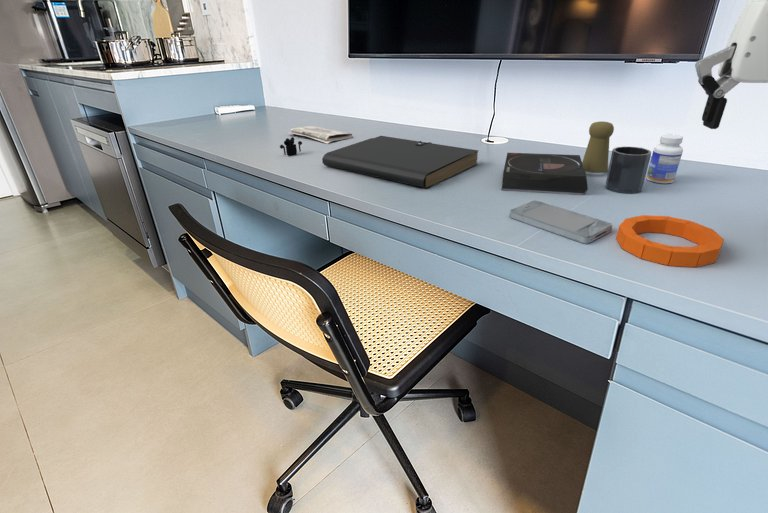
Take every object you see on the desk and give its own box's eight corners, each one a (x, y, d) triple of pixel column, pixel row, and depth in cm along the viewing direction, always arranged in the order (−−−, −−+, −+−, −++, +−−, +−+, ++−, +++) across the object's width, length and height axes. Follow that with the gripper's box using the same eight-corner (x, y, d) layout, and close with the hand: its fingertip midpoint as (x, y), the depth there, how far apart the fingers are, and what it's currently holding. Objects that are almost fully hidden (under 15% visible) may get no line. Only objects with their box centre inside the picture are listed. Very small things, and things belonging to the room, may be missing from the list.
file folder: (479, 148, 110) (423, 174, 95) (478, 164, 112) (423, 192, 97) (381, 134, 130) (321, 153, 114) (382, 147, 132) (323, 168, 116)
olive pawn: (594, 173, 102) (603, 125, 97) (575, 167, 107) (582, 121, 102) (613, 169, 104) (623, 122, 99) (593, 163, 109) (601, 118, 104)
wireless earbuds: (282, 157, 127) (279, 140, 124) (278, 156, 129) (276, 138, 126) (304, 153, 130) (301, 136, 128) (300, 151, 132) (298, 135, 130)
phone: (586, 245, 70) (588, 237, 70) (506, 216, 82) (507, 210, 81) (613, 230, 74) (614, 224, 74) (533, 205, 86) (534, 199, 85)
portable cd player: (586, 195, 90) (590, 176, 88) (501, 190, 95) (503, 172, 93) (579, 171, 104) (582, 155, 102) (505, 168, 109) (507, 152, 107)
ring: (695, 230, 73) (699, 217, 72) (735, 269, 62) (741, 254, 61) (608, 226, 76) (611, 213, 75) (631, 263, 64) (634, 249, 63)
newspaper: (286, 135, 154) (286, 127, 153) (315, 132, 162) (314, 125, 161) (324, 144, 139) (323, 136, 138) (353, 140, 146) (353, 133, 145)
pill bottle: (645, 175, 100) (656, 132, 95) (673, 177, 97) (685, 133, 93) (646, 182, 95) (657, 137, 91) (675, 185, 93) (688, 139, 88)
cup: (636, 183, 95) (645, 146, 91) (646, 194, 89) (656, 155, 85) (601, 182, 97) (609, 146, 93) (609, 193, 91) (617, 155, 87)
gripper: (865, -21, 53) (805, 123, 61) (706, -15, 56) (669, 121, 64) (918, -28, 46) (843, 134, 54) (735, -20, 50) (690, 132, 58)
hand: (749, 127), depth 59 cm, fingers open, 9 cm apart
